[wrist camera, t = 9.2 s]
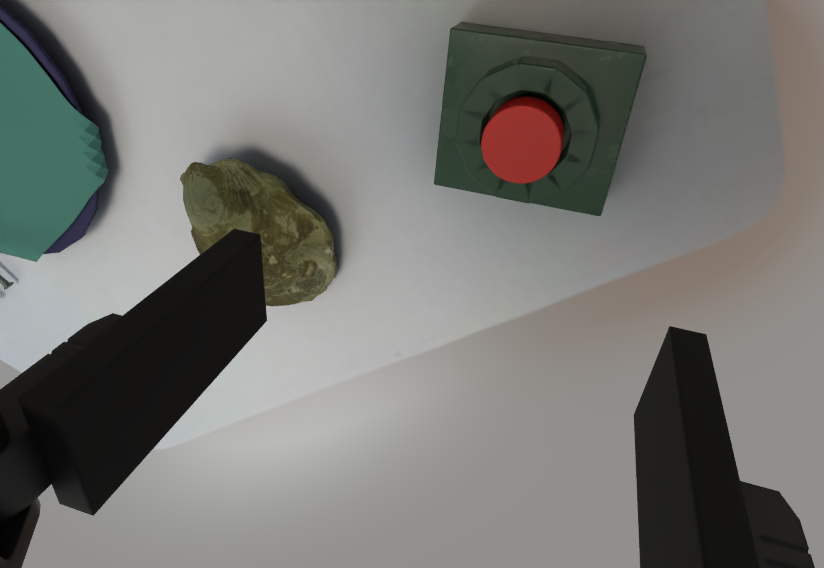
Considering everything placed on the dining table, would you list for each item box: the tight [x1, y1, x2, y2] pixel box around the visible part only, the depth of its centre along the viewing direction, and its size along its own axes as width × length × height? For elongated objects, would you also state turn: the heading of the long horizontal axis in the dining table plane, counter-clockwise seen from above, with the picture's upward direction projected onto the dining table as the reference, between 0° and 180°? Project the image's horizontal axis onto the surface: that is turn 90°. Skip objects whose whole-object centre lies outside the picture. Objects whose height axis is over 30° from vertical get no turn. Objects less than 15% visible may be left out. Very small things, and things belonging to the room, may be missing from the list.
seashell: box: [180, 158, 337, 306], centre depth 37 cm, size 10×7×10 cm
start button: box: [481, 97, 564, 183], centre depth 27 cm, size 4×4×2 cm
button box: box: [434, 22, 646, 216], centre depth 29 cm, size 9×8×4 cm
